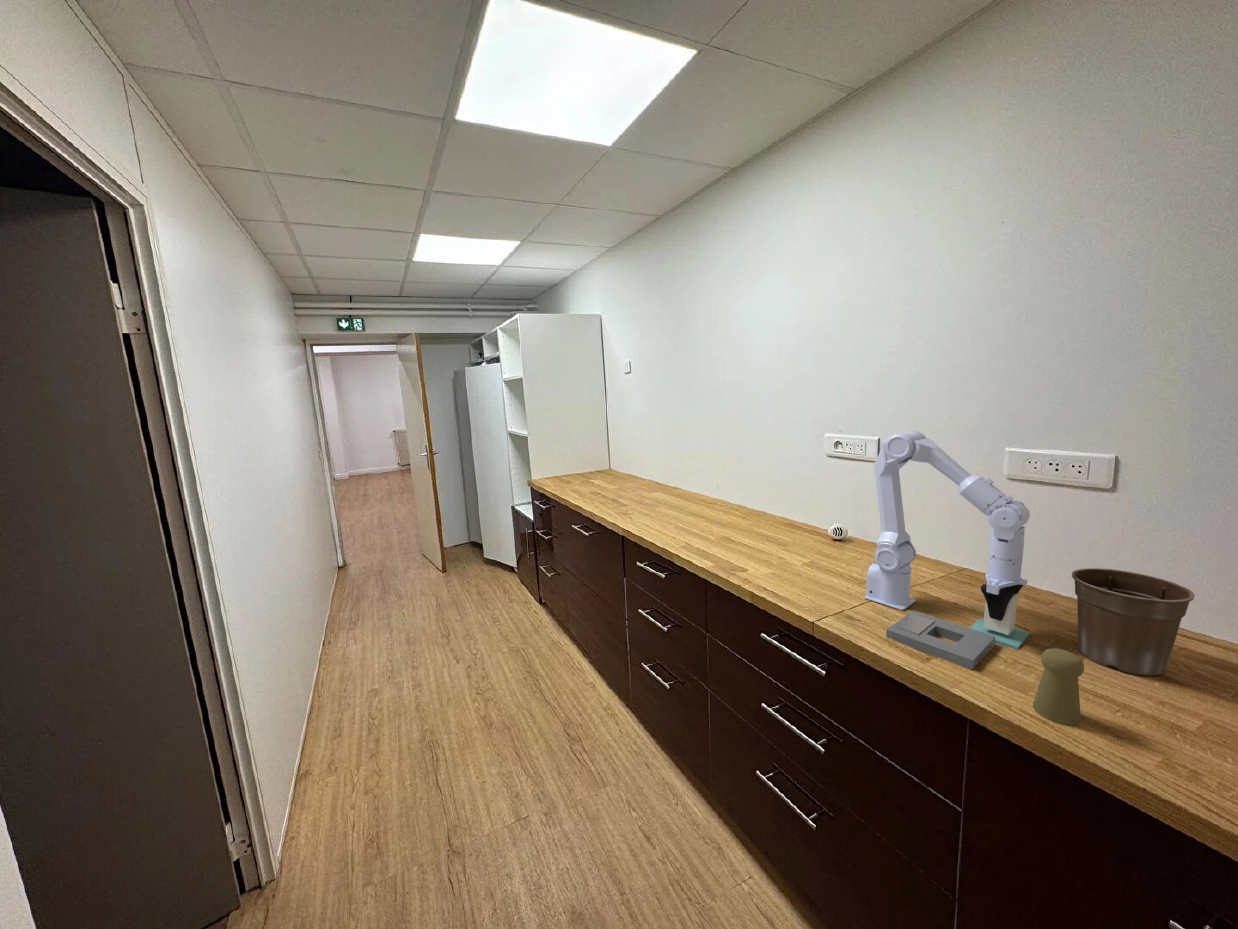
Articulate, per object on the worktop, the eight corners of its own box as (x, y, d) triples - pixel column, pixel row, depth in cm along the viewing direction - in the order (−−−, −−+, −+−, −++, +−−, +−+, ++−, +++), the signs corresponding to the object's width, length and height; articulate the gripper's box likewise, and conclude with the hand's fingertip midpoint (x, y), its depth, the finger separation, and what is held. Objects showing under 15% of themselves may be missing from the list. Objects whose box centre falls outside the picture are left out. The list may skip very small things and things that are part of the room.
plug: (983, 627, 105) (986, 593, 104) (989, 621, 108) (992, 588, 106) (1008, 635, 101) (1012, 600, 100) (1014, 628, 104) (1017, 594, 103)
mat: (966, 632, 106) (966, 630, 106) (980, 620, 111) (980, 618, 111) (1017, 649, 99) (1017, 647, 98) (1029, 635, 104) (1029, 632, 104)
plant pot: (1042, 638, 102) (1050, 567, 100) (1118, 637, 102) (1128, 566, 99) (1118, 684, 86) (1129, 601, 84) (1209, 683, 86) (1224, 599, 83)
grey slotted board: (886, 638, 105) (886, 628, 104) (912, 618, 113) (913, 609, 113) (972, 670, 92) (973, 659, 92) (994, 645, 100) (995, 635, 100)
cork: (1086, 730, 75) (1094, 667, 74) (1036, 718, 78) (1043, 657, 77) (1075, 708, 80) (1082, 649, 79) (1029, 697, 84) (1035, 640, 82)
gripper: (1019, 570, 95) (1012, 633, 97) (1038, 553, 103) (1031, 611, 105) (976, 561, 100) (971, 620, 102) (998, 545, 109) (993, 601, 111)
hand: (999, 615), depth 104 cm, fingers closed on plug, 4 cm apart
